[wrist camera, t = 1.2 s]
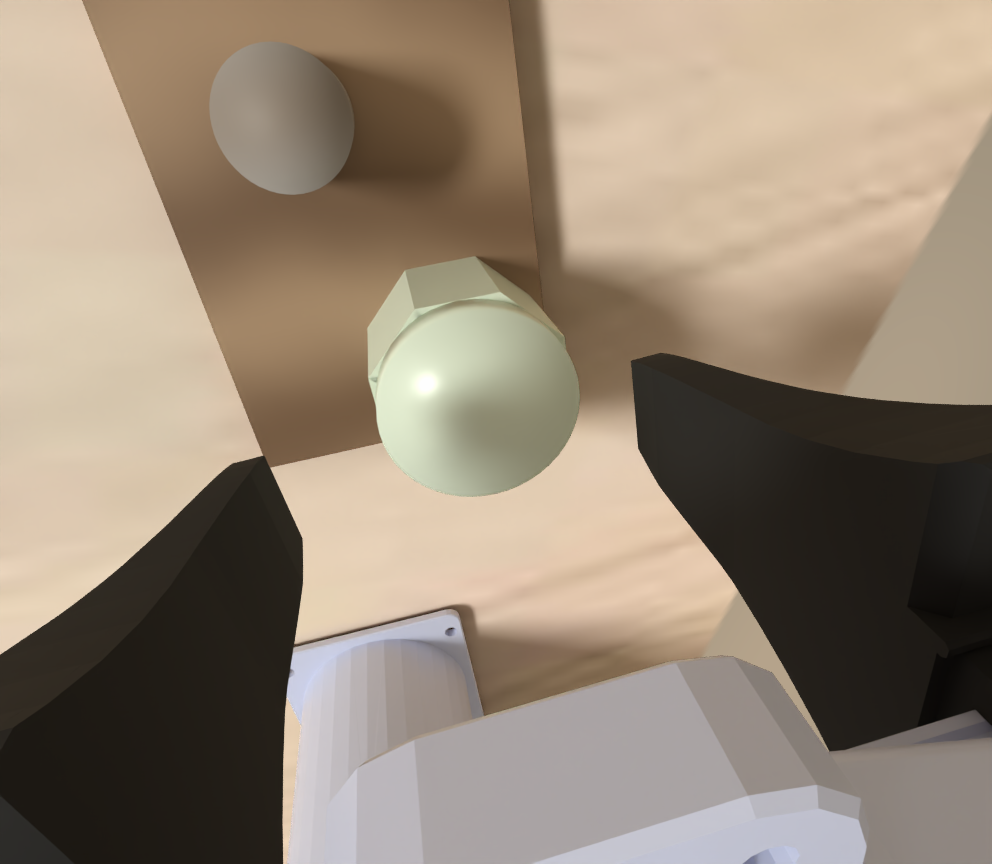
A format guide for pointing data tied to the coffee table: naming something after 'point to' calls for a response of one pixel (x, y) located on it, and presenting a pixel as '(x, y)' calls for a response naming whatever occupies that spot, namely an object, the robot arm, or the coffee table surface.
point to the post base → (350, 221)
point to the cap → (469, 380)
